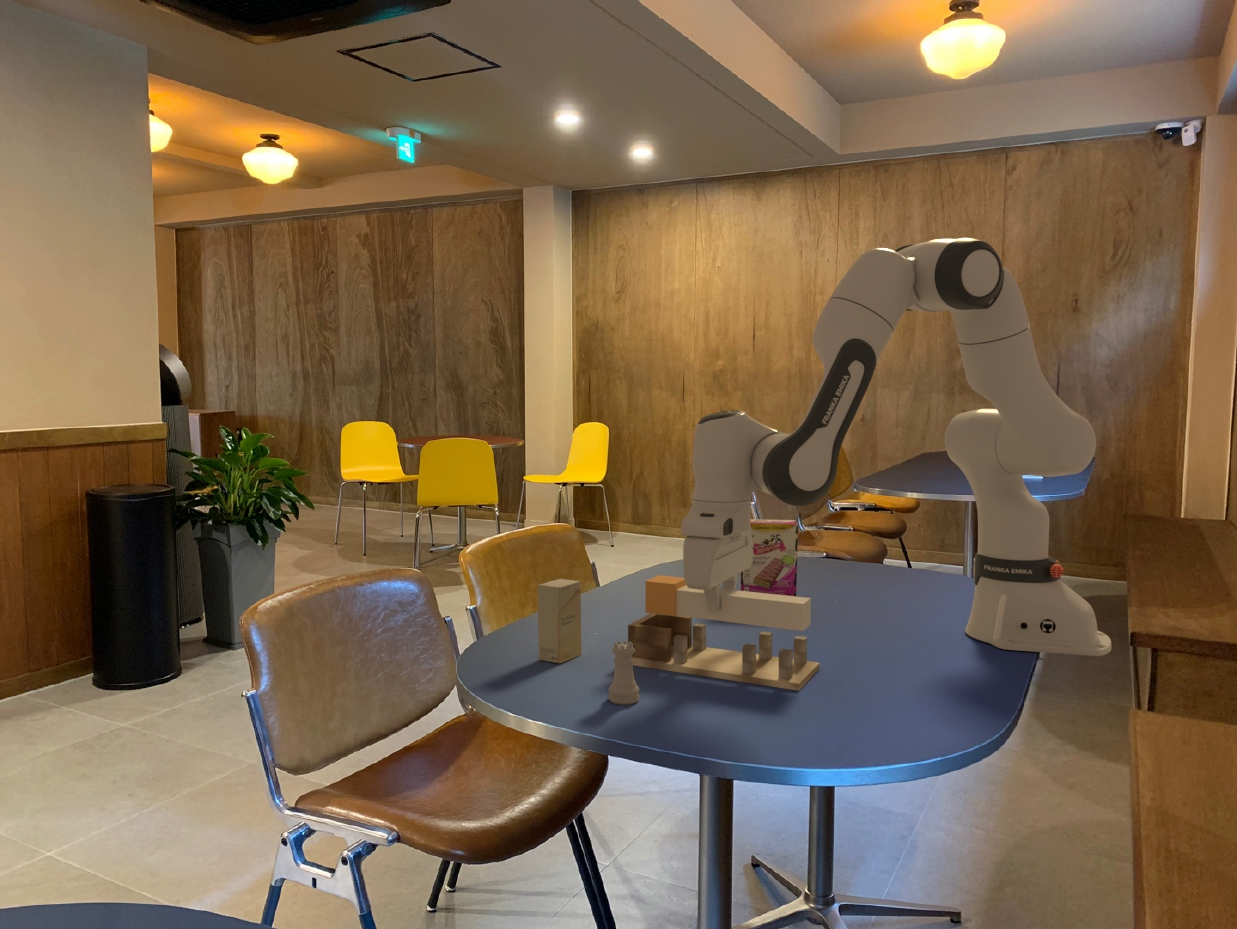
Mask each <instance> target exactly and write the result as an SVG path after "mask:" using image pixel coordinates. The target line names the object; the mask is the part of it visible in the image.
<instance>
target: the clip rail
mask: <svg viewBox="0 0 1237 929" xmlns="http://www.w3.org/2000/svg"><path fill="white" fill-rule="evenodd" d="M692 618H693V617H685V616H677V615H676V616H669V615H661V614H653V613H647V614H646V615H644V616H643V617H641V618H639V619H637V620H635V621H633V622H631V623H630V624H628V625H627V644H629V642H632V643H633V647H634V649H635V652H634V654H633V655H632V659H633V660H634V662H633V666H636V667H642V668H648V669H655V670H662V671H667V672H668V671H669V672H673V673H681V674H686V675H694V676H701V677H707V678H714V679H719V680H720V679H721V680H726V681H727V680H728V681H734V682H738V683H746V684H753V685H757V686H758V685H760V686H765V687H766V686H767V687H770V688H771V687H772V688H777V689H778V688H779V689H785V690H793V691H797V692H800V690H801V689H802V688H803V687H804V686H805V685H806V684H807V683H808V682H809V681H810V679H812V678H813V676H814V675H815V674H817V672H819V670H820V662H816V661H810V660H808V636H802V635H801V636H800V635H796V636H794V638H793V649H785V648H782V649H780V650H779V651H778V656H775V655H773V632H769V631H761V632H760V633H759V634H758V653H757V644H749V643H745V644H744V645H743V646H742V649H741V650H742V651H736V650H729V649H723V648H715V647H708V646H706V645H707V643H706V642H707V641H706V640H707V624H705V623H698V622H696V623H695V624H693V622H692V620H693V619H692ZM692 624H693V625H692Z"/></svg>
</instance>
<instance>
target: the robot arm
mask: <svg viewBox="0 0 1237 929" xmlns="http://www.w3.org/2000/svg"><path fill="white" fill-rule="evenodd" d="M837 284H838V285H837V286H836V287H835V288H834V290H833V292H832V294H831V295H830V297H829V299H828V300H827V301H826V304H825V306H824V308H823V309H822V310H821V313H820V315H819V316H818V319H817V321H816V324H815V327H814V331H813V334H812V345H813V348H814V351H815V353H816V355H817V357H818V358H819V359H820V361H821V363H822V366H823V376H822V379H821V382H820V385H819V386H818V389H817V390H816V392H815V395H814V397H813V399H812V401H811V403H810V405H809V407H808V409H807V411H806V414H805V415H804V417H803V419H802V421H801V423H800V424H799V426H798V427H797V428H796V429H795V430H793V431H791V432H790V433H787V432H782V431H779V430H777V429H775V428H771V427H769V426H767V425H765V424H764V423H761V422H759V421H757V420H756V419H754V418H752V417H751V416H750V415H748V413H747V412H746V411H744V410H738V409H737V410H736V409H733V410H723V411H717V412H714V413H711V414H707V415H704V416H703V417H701V419H700V420H699V421H698V422H697V423H696V427H695V431H694V437H693V446H692V467H691V468H692V473H693V478H694V488H693V492H692V495H691V496H692V498H691V499H692V501H691V505H692V506H691V507H690V509H689V511H688V513H687V515H686V516H685V517H684V518H683V519H682V521H681V523H680V535H682V536H684V537H685V536H686V537H685V538H684V541H683V547H682V548H683V550H682V553H683V554H682V556H683V557H682V558H683V559H682V560H683V578H684V579H685V582H686V585H687V587H688V588H691V589H699V590H704V593H705V596H706V599H707V610H708V611H709V612H718V611H719V610H721V599H720V598H719V591H718V590H720V589H729V590H736V587H737V586H736V585H737V582H738V574H740V572H742V571H744V570H746V569H748V568H750V567H751V564H752V559H753V550H752V532H751V527H750V519H752V518H751V516H752V515H751V509H752V508H751V502H752V500H751V499H752V498H751V497H752V493H753V492H762V493H765V494H767V495H769V496H773V497H775V498H777V499H778V500H779V501H782V502H783V503H785V504H787V505H791V506H794V507H804V506H805V507H806V506H810V505H813V504H814V503H817V502H819V501H820V500H821V499H823V498H825V496H826V495H827V494H828V493H829V492H830V490H831V488H832V487H833V484H834V482H835V479H836V477H837V470H838V466H839V465H838V464H839V456H840V452H841V448H842V444H843V442H844V441H845V440H844V439H845V437H846V435H847V433H848V431H849V429H850V427H851V424H852V422H853V420H854V418H855V417H856V415H857V412H858V410H859V407H860V405H861V404H862V402H863V399H864V396H865V395H866V393H867V391H868V388H869V385H870V383H871V381H872V378H873V376H874V372H875V370H876V367H877V365H878V364H877V363H878V361H879V359H880V358H881V355H882V354H883V352H884V350H885V348H886V347H887V345H888V343H889V341H890V340H891V337H892V335H893V334H894V332H895V330H896V329H897V326H898V324H899V323H900V321H901V319H902V316H903V314H904V313H905V312H906V311H907V312H909V311H911V312H912V311H917V312H923V313H938V312H942V311H948V312H949V313H950V314H951V316H952V317H953V320H954V327H955V333H956V337H957V343H958V346H959V351H960V352H959V353H960V356H961V360H962V365H963V370H964V374H965V379H966V381H967V384H968V386H969V387H970V388H971V389H972V390H973V391H974V392H975V393H977V394H979V396H982V397H983V398H985V399H986V400H988V401H989V402H990V403H991V405H993V407H994V408H980V409H973V410H968V411H965V412H961V413H958V414H956V415H955V416H954V417H953V418H951V420H950V422H949V423H948V424H947V425H948V426H947V427H946V430H945V434H944V446H945V451H946V453H947V455H948V457H949V459H950V460H951V462H953V463H954V464H955V465H957V467H958V468H959V469H960V471H961V472H962V473H963V475H964V476H965V477H966V480H967V481H968V484H969V486H970V488H971V491H972V493H973V497H974V500H975V504H976V510H977V551H976V552H975V555H974V558H973V581H974V582H973V584H974V585H975V586H974V595H973V600H972V606H971V611H970V614H969V618H968V622H967V624H966V627H965V630H964V632H965V633H966V635H967V636H969V637H971V638H973V639H976V640H978V641H982V642H984V643H988V644H990V645H992V646H994V647H996V648H997V649H1002V650H1009V651H1020V652H1021V651H1023V652H1033V653H1046V654H1047V653H1050V654H1063V655H1064V654H1065V655H1076V656H1077V655H1078V656H1092V657H1101V656H1105V655H1107V654H1109V653H1110V652H1111V650H1112V640H1111V638H1110V637H1109V635H1107V634H1106V633H1104V632H1102V631H1099V630H1098V623H1097V617H1096V614H1095V611H1094V608H1093V607H1092V605H1091V604H1090V603H1089V602H1088V601H1087V600H1086V599H1084V598H1083V597H1082V596H1081V595H1079V594H1078V593H1077V592H1076V591H1075V590H1073V589H1072V588H1071V587H1069V586H1068V585H1067V584H1065V583H1064V582H1063V581H1061V577H1062V576H1063V574H1064V568H1063V566H1062V563H1060V561H1059V560H1058V559H1054V558H1052V557H1051V556H1049V544H1050V543H1049V539H1050V536H1049V535H1050V514H1049V511H1048V510H1047V507H1046V505H1044V504H1043V503H1042V502H1041V501H1039V500H1038V499H1037V498H1035V497H1034V496H1033V495H1032V494H1031V493H1030V491H1029V490H1028V488H1027V485H1026V484H1025V480H1024V478H1023V475H1024V476H1033V477H1046V478H1052V477H1053V478H1054V477H1061V476H1063V477H1064V476H1070V475H1076V474H1079V473H1081V472H1083V471H1084V470H1085V469H1086V468H1087V467H1088V466H1089V465H1090V463H1091V462H1092V460H1093V458H1094V456H1095V453H1096V448H1097V439H1096V438H1097V437H1096V433H1095V431H1094V429H1093V427H1092V425H1091V423H1090V422H1089V421H1088V419H1087V418H1086V417H1084V416H1082V415H1081V414H1079V413H1077V412H1075V411H1074V410H1073V409H1072V408H1070V407H1069V406H1068V405H1067V404H1066V403H1065V402H1064V401H1063V400H1061V397H1059V396H1058V395H1057V394H1056V392H1055V391H1054V389H1053V388H1052V387H1051V386H1050V384H1049V382H1048V381H1047V379H1046V377H1045V375H1044V374H1043V372H1042V368H1041V366H1040V363H1039V359H1038V355H1037V352H1036V348H1035V343H1034V339H1033V338H1034V337H1033V335H1032V334H1033V333H1032V330H1031V324H1030V320H1029V316H1028V312H1027V308H1026V305H1025V302H1024V298H1023V296H1022V292H1021V290H1020V288H1019V285H1018V283H1017V281H1016V279H1015V276H1014V274H1013V273H1012V272H1011V271H1010V269H1009V268H1007V267H1005V266H1003V263H1002V259H1001V258H1000V256H999V254H998V253H997V251H996V250H995V248H994V247H993V246H992V245H991V244H989V243H988V242H986V241H984V240H980V239H977V238H971V237H962V238H961V237H960V238H940V239H939V238H938V239H931V240H928V241H925V242H921V243H917V244H908V245H903V246H901V247H898V248H896V249H894V250H893V249H891V248H890V249H889V248H884V247H875V248H871V249H869V250H866V251H864V252H863V253H862V254H861V255H860V256H859V257H858V258H857V259H856V260H855V262H854V263H853V264H852V265H851V267H849V269H848V270H847V271H846V273H845V274H844V275H843V277H842V278H841V280H840V281H839V282H838V283H837ZM721 584H722V586H721Z"/></svg>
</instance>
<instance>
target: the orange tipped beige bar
mask: <svg viewBox="0 0 1237 929" xmlns="http://www.w3.org/2000/svg"><path fill="white" fill-rule="evenodd" d="M644 583H645V601H644V602H645V605H644V606H645V610H644V611H645V613H647V614H650V613H653V614H661V615H669V616H676V615H677V616H685V617H692V618H695V619H701V620H708V621H709V620H711V621H716V622H717V621H719V622H726V623H733V624H743V625H750V626H759V627H768V628H775V629H783V630H784V629H785V630H792V631H801V632H803V631H804V632H805V630H806V629H807V628H809V627H810V626H811V620H812V619H811V618H812V617H811V616H812V615H811V614H812V613H811V612H812V610H811V609H812V608H811V607H812V602H811V601H812V598H811V597H805V596H804V597H803V596H796V597H795V596H786V595H776V594H767V593H757V592H748V591H740V589H739V590H736V589H735V590H729V589H722V588H720V590H718V591H719V598H720V599H721V610H719V611H718V612H709V611H708V610H707V599H706V596H705V593H704V590H699V589H691V588H688V587H687V585H686V582H685V579H684V577H680V576H679V577H678V576H672V575H671V576H670V575H663V574H662V575H660V574H658V575H656V576H654V577H651V578H650V579H647V580H645V582H644Z"/></svg>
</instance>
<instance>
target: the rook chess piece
mask: <svg viewBox="0 0 1237 929" xmlns="http://www.w3.org/2000/svg"><path fill="white" fill-rule="evenodd" d="M622 642H623V643H622ZM611 651H612V653H613V654H614V657H615V658H614V659H613V663H614V673H613V678H612V681H611V683H610V686H608V690H607V692H608V693H609V694H608V695H607V698H608V700H609V701H610V703H612V704H614V705H617V706H618V705H619V706H629V705H633V704H636V703H638V701H639V700H640V697H641V696H640V694H639V692H640V687H639V685H638V684H637V682H636V681H635V674H634V671H633V670H634V669H633V666H634V665H633V662H634V660H633V659H632V655H633V654H634V652H635V649H634V647H633V643H632V642H629V644H628V640H623V641H621V640H619V641H618V640H617V641H616V642H614V644H613V648H612V649H611Z"/></svg>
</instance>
